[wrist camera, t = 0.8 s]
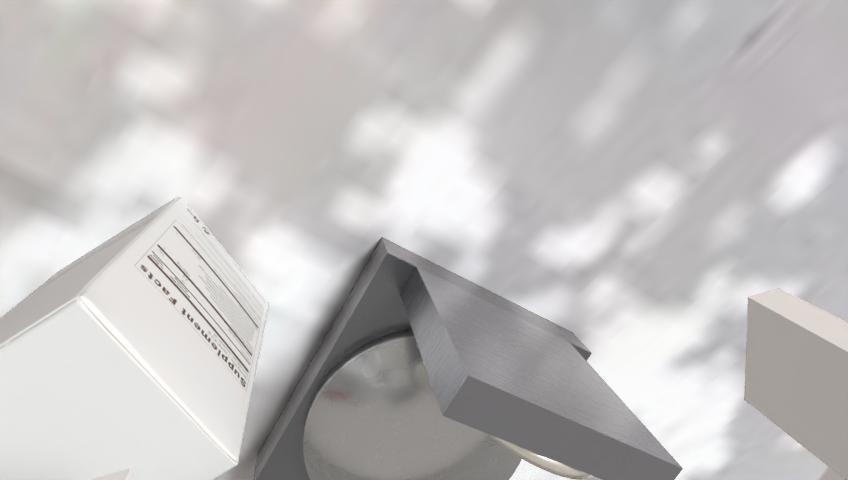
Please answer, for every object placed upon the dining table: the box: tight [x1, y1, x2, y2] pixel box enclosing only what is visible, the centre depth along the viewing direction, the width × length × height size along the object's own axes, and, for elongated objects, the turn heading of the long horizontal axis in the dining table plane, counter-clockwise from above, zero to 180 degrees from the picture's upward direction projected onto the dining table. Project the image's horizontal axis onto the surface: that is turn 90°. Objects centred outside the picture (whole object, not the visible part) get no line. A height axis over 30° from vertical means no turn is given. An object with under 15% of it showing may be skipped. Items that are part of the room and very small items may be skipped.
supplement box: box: [0, 197, 269, 480], centre depth 26 cm, size 9×9×15 cm
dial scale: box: [254, 238, 683, 480], centre depth 31 cm, size 16×18×15 cm
